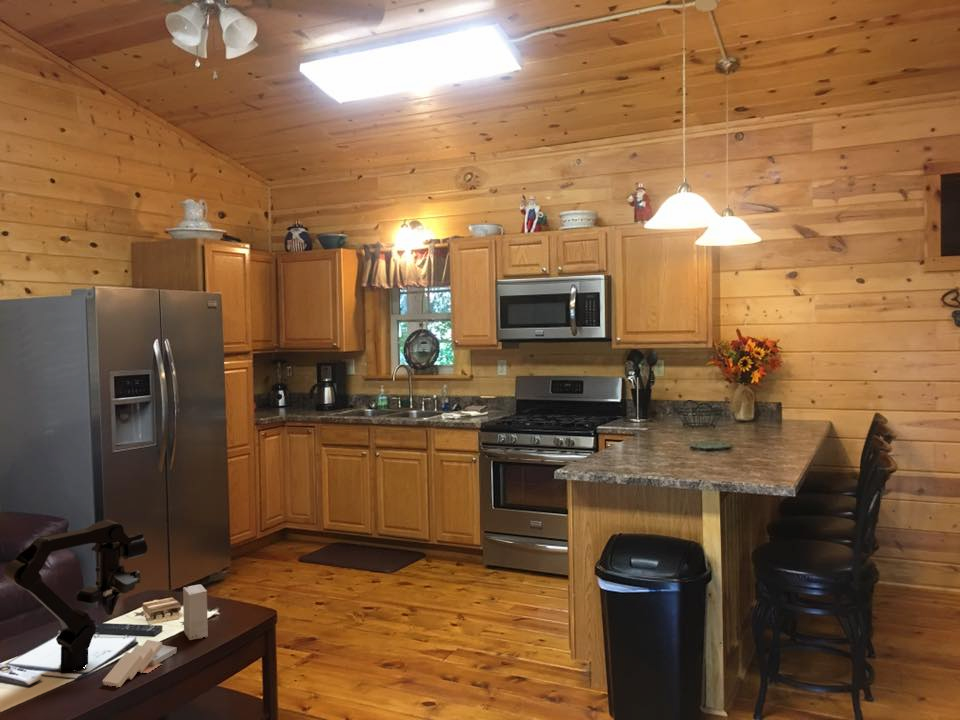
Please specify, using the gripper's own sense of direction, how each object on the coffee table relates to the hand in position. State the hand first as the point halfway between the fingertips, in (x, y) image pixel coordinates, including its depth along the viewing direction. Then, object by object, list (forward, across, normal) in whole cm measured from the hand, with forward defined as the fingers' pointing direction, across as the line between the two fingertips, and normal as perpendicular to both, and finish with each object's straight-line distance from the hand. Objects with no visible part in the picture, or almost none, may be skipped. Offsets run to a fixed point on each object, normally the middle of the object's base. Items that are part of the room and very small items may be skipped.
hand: (109, 614), depth 225 cm
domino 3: (+11, -6, -15) cm, 19 cm away
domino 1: (+11, -15, -15) cm, 24 cm away
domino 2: (+11, -10, -15) cm, 21 cm away
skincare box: (+12, +21, -13) cm, 28 cm away
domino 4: (+11, -1, -15) cm, 19 cm away
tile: (+12, -3, -14) cm, 19 cm away
